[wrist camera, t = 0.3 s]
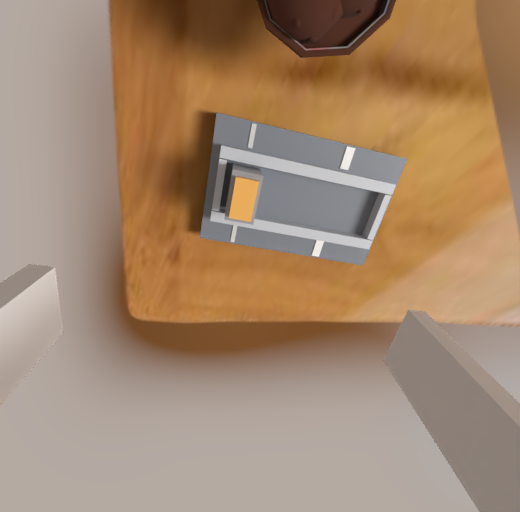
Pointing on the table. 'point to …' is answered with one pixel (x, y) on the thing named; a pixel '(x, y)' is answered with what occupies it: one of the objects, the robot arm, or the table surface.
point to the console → (300, 191)
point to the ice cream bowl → (324, 23)
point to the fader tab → (243, 194)
